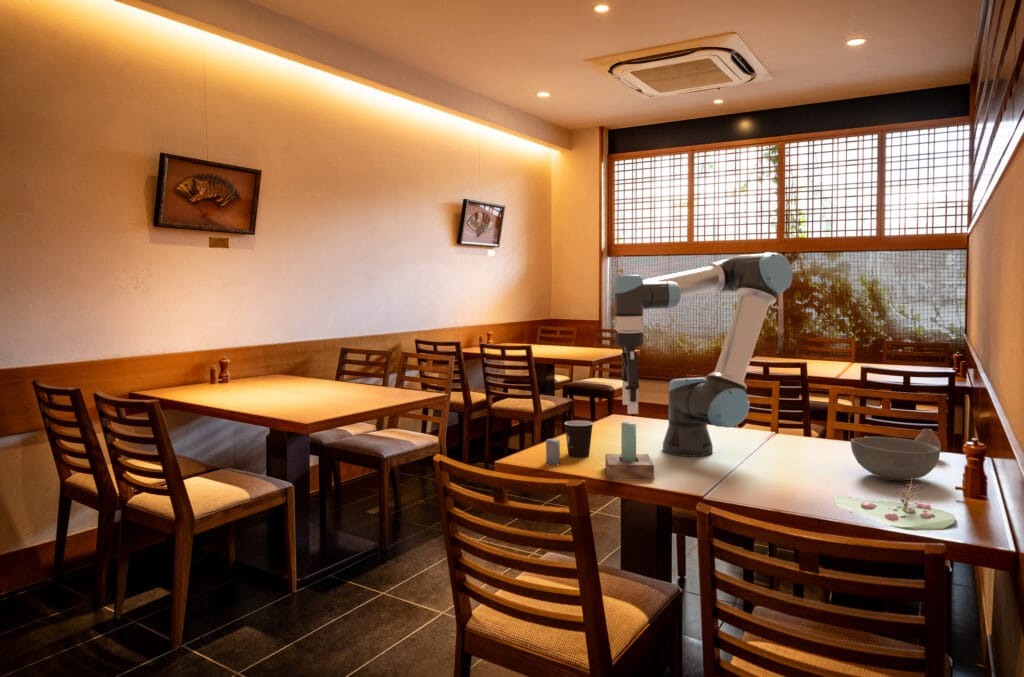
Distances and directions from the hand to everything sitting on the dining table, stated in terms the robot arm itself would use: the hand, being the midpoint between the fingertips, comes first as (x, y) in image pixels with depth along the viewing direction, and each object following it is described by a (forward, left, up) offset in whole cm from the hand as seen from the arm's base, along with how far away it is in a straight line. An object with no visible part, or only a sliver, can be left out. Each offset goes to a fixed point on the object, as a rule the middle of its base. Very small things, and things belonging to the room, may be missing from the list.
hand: (630, 409), depth 185 cm
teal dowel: (0, 0, -18) cm, 18 cm away
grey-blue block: (+21, -10, -18) cm, 30 cm away
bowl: (-69, +3, -18) cm, 71 cm away
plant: (-55, +30, -19) cm, 66 cm away
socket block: (0, 0, -18) cm, 18 cm away
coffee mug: (+13, -22, -18) cm, 31 cm away
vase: (-89, -19, -18) cm, 92 cm away
